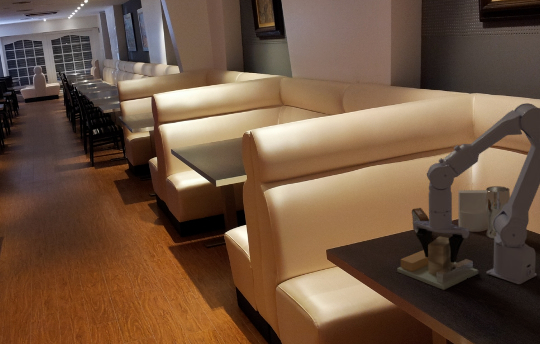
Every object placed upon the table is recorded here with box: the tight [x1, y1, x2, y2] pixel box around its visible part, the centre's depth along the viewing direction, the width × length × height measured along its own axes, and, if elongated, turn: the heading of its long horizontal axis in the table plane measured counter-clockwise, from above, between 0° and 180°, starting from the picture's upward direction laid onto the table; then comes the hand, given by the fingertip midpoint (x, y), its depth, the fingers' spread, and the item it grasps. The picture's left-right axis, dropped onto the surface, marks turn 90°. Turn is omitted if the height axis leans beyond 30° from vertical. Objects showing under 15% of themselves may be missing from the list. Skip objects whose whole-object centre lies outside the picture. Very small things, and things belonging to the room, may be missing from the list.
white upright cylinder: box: [457, 189, 488, 233], centre depth 178 cm, size 9×9×12 cm
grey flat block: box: [396, 258, 479, 291], centre depth 148 cm, size 16×14×4 cm
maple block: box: [428, 235, 454, 275], centre depth 146 cm, size 4×7×8 cm, turn 140°
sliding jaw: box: [400, 249, 428, 272], centre depth 152 cm, size 4×12×2 cm, turn 125°
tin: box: [411, 207, 429, 234], centre depth 174 cm, size 15×3×8 cm, turn 179°
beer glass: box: [485, 185, 511, 240], centre depth 169 cm, size 7×7×15 cm
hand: (440, 258), depth 146 cm, fingers open, 6 cm apart
